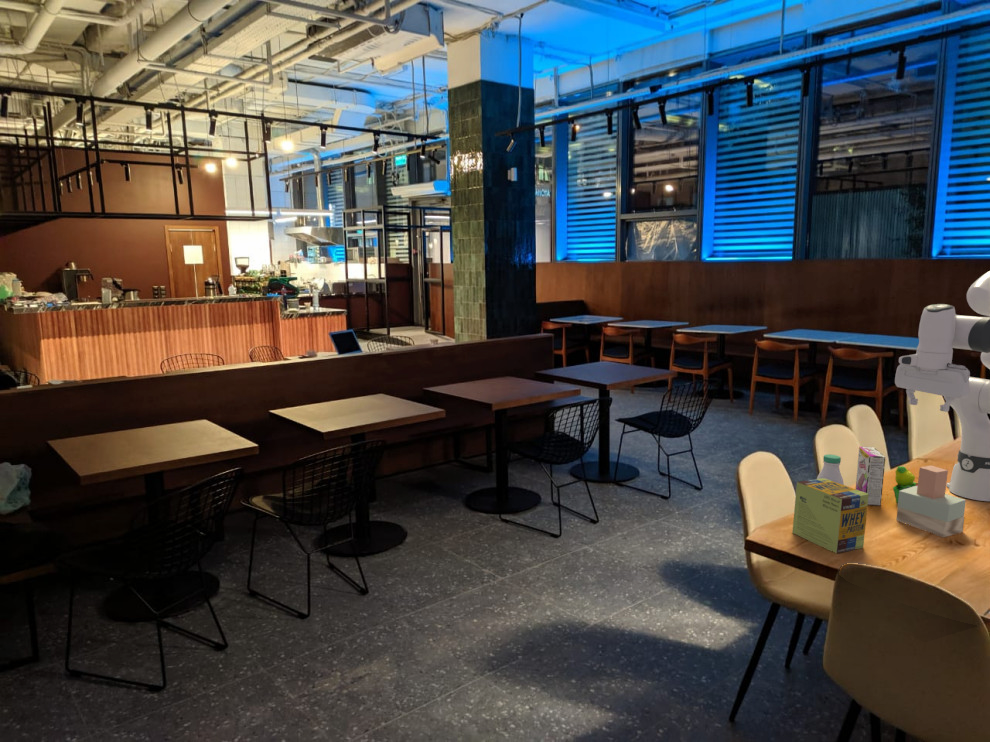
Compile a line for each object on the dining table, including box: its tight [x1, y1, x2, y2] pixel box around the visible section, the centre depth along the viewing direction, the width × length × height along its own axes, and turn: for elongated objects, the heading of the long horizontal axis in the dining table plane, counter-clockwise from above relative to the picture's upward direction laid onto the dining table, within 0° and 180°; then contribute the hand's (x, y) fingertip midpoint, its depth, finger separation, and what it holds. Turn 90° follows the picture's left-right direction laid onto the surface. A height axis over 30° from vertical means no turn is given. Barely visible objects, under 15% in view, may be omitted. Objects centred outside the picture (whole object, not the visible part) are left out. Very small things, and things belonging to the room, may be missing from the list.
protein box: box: [791, 478, 869, 554], centre depth 192 cm, size 10×15×16 cm
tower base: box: [896, 506, 965, 538], centre depth 203 cm, size 9×14×5 cm, turn 26°
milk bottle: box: [816, 453, 845, 485], centre depth 206 cm, size 8×8×20 cm
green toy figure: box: [892, 465, 918, 504], centre depth 223 cm, size 11×9×11 cm
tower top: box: [897, 486, 967, 522], centre depth 202 cm, size 9×14×5 cm, turn 31°
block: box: [917, 465, 949, 499], centre depth 201 cm, size 5×5×8 cm
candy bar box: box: [855, 446, 886, 507], centre depth 224 cm, size 11×5×16 cm, turn 168°
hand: (928, 407), depth 201 cm, fingers open, 8 cm apart
